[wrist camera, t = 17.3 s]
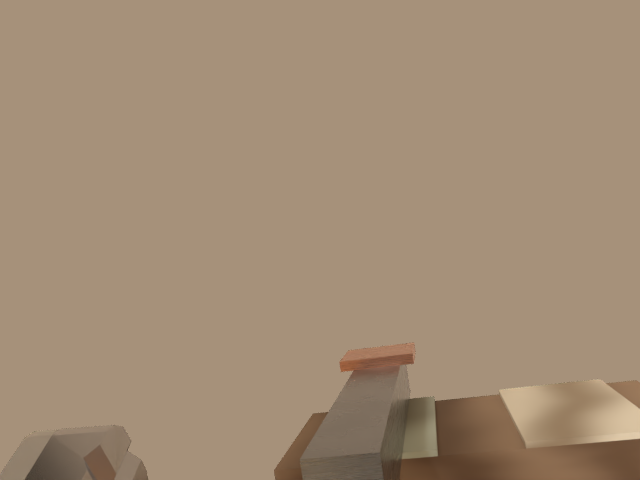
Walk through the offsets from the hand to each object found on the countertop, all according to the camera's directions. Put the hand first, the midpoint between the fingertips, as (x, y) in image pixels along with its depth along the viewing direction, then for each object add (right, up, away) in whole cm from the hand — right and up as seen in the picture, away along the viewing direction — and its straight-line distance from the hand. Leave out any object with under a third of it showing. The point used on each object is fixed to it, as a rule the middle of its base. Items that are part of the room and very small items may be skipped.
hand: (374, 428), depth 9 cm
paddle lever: (+2, -7, +21) cm, 22 cm away
